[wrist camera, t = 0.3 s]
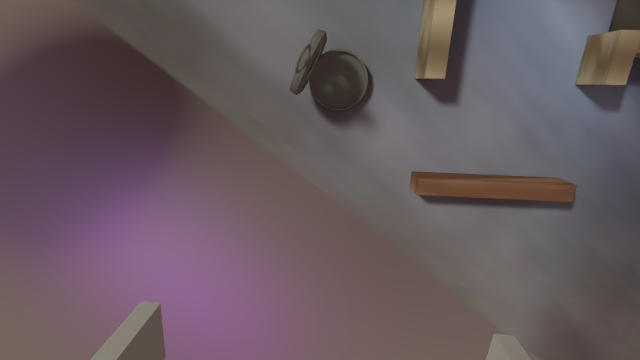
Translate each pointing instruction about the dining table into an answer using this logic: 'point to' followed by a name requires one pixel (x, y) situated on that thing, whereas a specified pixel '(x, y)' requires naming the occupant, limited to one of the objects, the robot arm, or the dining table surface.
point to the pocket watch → (330, 74)
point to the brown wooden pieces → (596, 69)
